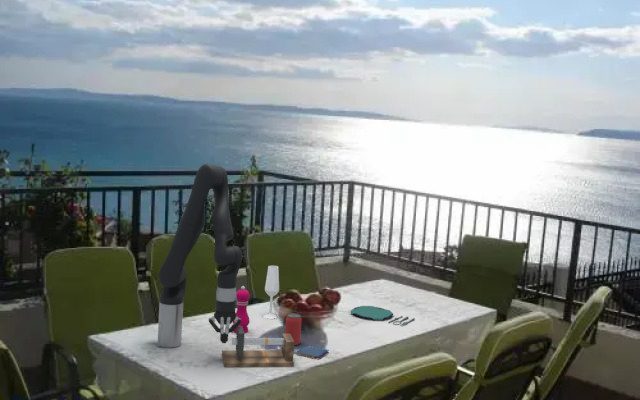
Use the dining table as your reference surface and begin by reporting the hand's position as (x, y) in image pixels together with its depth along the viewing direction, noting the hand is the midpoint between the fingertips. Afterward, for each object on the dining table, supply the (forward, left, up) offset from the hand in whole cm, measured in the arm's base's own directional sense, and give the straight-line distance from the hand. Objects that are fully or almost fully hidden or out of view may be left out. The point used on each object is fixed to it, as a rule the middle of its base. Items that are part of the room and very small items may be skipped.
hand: (223, 342), depth 261 cm
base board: (+13, -3, -6) cm, 15 cm away
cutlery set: (+80, +56, -7) cm, 98 cm away
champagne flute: (+26, +55, -6) cm, 61 cm away
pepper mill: (+10, +33, -6) cm, 35 cm away
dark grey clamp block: (+6, -3, -3) cm, 7 cm away
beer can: (+30, +17, -6) cm, 35 cm away
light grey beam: (+13, -3, 0) cm, 13 cm away
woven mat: (+36, +4, -7) cm, 37 cm away
